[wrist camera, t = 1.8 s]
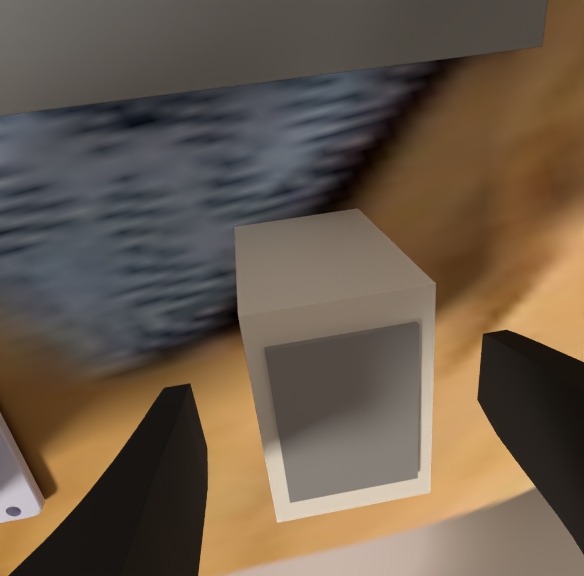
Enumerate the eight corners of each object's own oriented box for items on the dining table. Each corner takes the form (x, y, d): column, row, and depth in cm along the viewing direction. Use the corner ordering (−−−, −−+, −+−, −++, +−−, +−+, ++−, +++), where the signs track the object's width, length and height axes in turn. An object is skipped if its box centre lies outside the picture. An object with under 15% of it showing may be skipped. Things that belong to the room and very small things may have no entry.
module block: (261, 380, 17) (277, 527, 11) (234, 226, 14) (238, 319, 9) (365, 362, 17) (432, 497, 11) (357, 207, 14) (439, 286, 9)
